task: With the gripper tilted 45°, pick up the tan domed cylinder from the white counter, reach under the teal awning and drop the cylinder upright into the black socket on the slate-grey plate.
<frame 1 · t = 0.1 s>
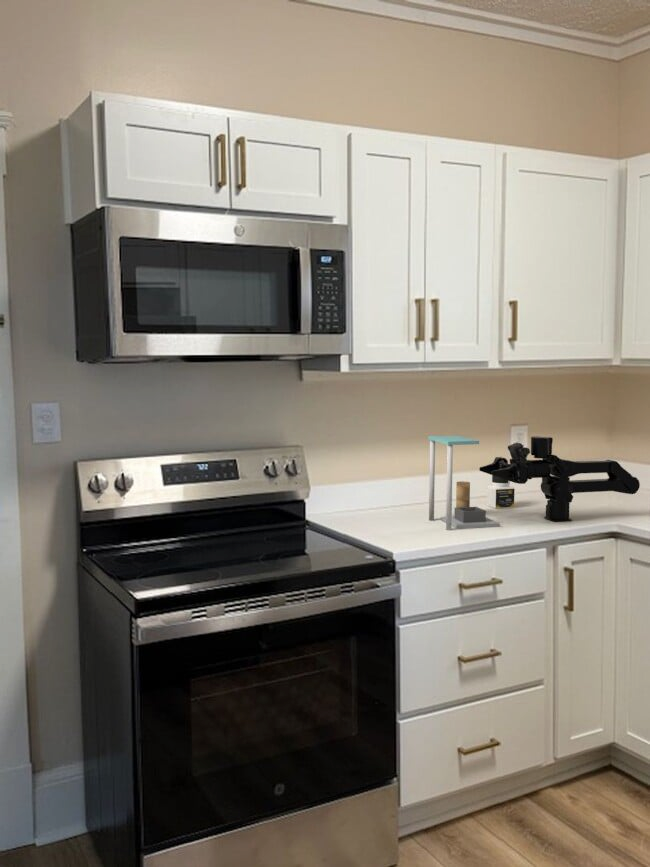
hand: (485, 471, 273), 17 cm above the worktop, tool horizontal, fingers open, 9 cm apart
tan domed cylinder: (462, 515, 287), on the worktop
medicine bottle: (500, 507, 303), on the worktop
awning socket: (469, 523, 274), on the worktop
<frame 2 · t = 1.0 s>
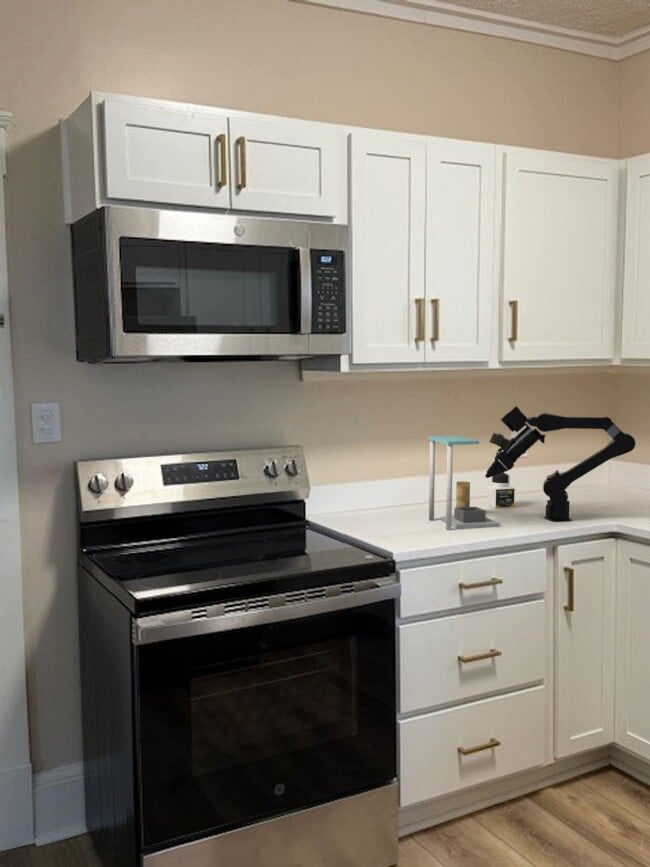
hand: (486, 475, 284), 14 cm above the worktop, tool tilted 45°, fingers open, 9 cm apart
nothing on the worktop moved.
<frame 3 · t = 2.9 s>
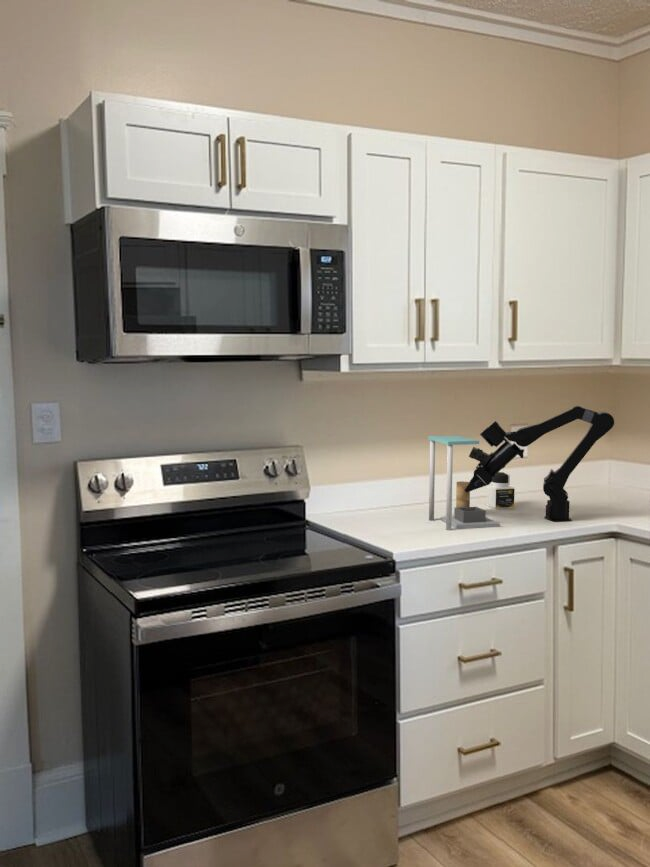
hand: (466, 489, 286), 9 cm above the worktop, tool tilted 45°, fingers open, 9 cm apart
nothing on the worktop moved.
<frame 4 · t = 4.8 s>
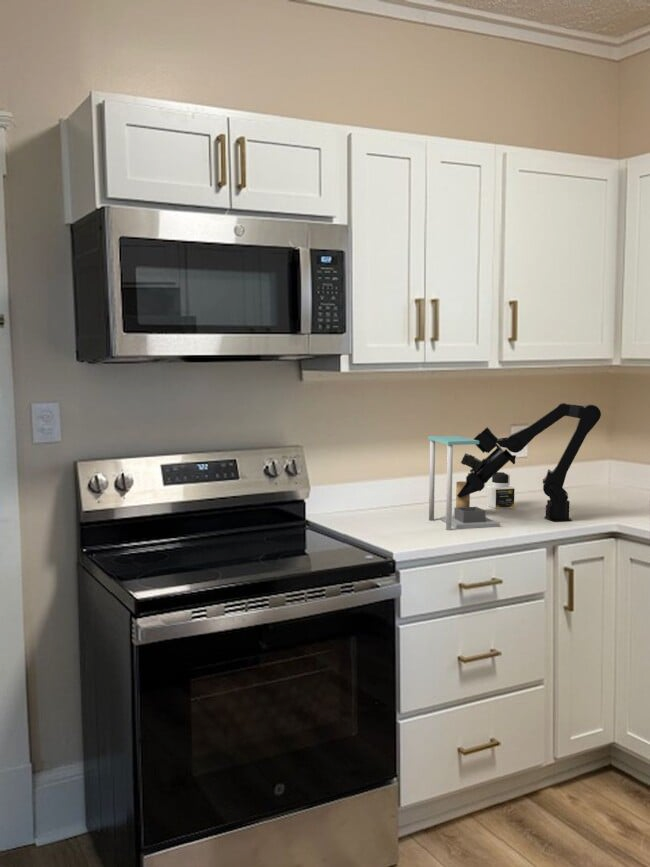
hand: (458, 495, 287), 7 cm above the worktop, tool tilted 45°, fingers closed on tan domed cylinder, 4 cm apart
tan domed cylinder: (462, 515, 287), on the worktop, touching gripper
everything else where it was.
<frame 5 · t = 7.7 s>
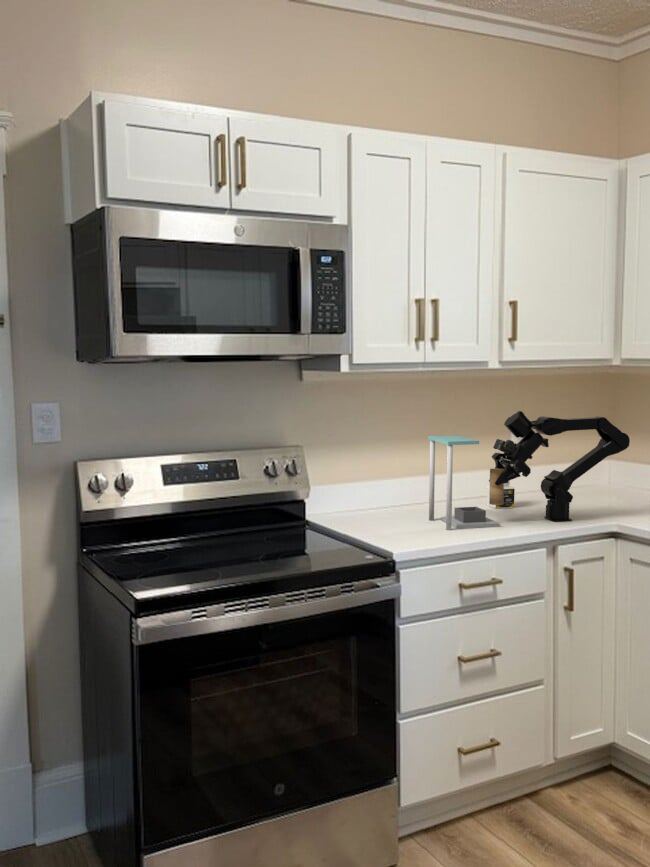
hand: (492, 483, 274), 12 cm above the worktop, tool tilted 45°, fingers closed on tan domed cylinder, 4 cm apart
tan domed cylinder: (496, 503, 275), point 6 cm above the worktop, touching gripper
everything else where it was.
when the fingers open (9 cm above the worktop, at t = 10.7 s): tan domed cylinder drops 2 cm, resting on awning socket.
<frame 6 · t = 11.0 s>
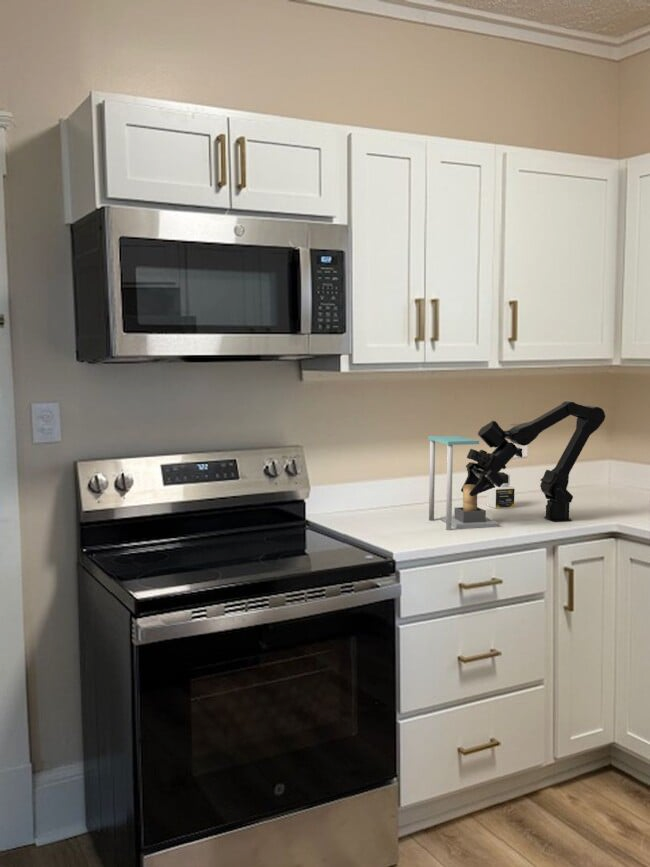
hand: (466, 493, 273), 10 cm above the worktop, tool tilted 45°, fingers open, 7 cm apart
tan domed cylinder: (470, 519, 274), point 1 cm above the worktop, touching awning socket
everything else where it was.
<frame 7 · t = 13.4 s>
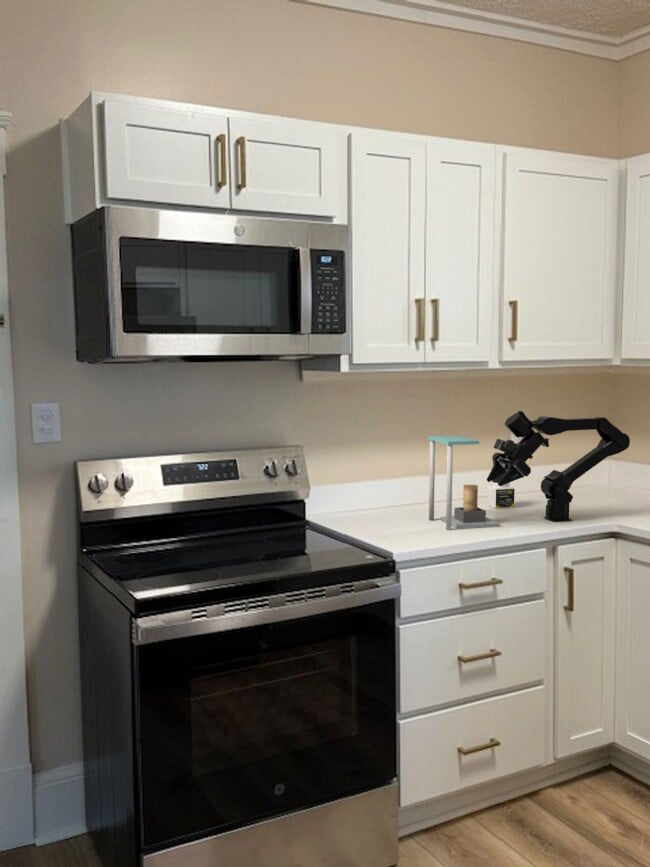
hand: (493, 483, 274), 13 cm above the worktop, tool tilted 45°, fingers open, 9 cm apart
nothing on the worktop moved.
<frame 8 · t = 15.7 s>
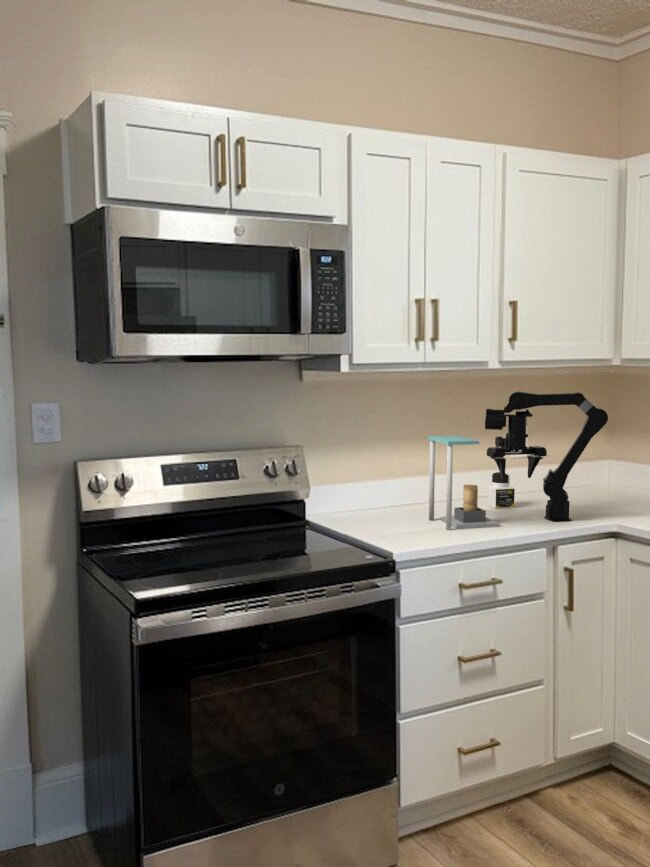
hand: (516, 478, 282), 13 cm above the worktop, tool pointing down, fingers open, 9 cm apart
nothing on the worktop moved.
at the end: tan domed cylinder 0.1 cm off-centre on the awning socket, point 1.0 cm above the awning socket's base; tan domed cylinder tilted 0°; the gripper is holding nothing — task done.
